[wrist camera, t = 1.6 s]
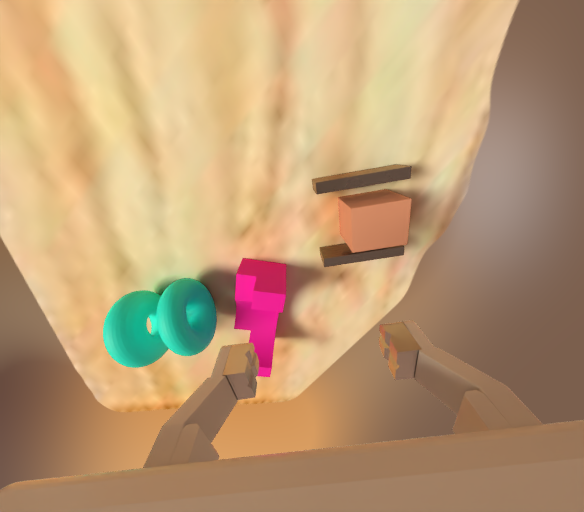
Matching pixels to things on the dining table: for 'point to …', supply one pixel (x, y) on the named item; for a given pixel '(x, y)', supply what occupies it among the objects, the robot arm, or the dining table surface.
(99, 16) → the dining table surface
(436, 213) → the dining table surface
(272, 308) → the toy block
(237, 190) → the dining table surface
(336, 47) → the dining table surface
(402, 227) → the terracotta block
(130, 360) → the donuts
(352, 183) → the guide channel
